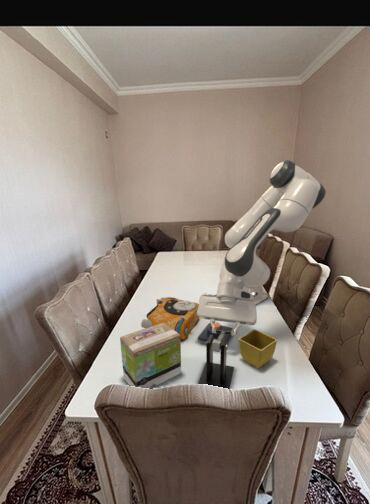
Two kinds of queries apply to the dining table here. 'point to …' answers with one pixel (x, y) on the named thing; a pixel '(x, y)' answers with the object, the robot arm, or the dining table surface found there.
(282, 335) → the dining table surface
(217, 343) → the lever
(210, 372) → the bracket
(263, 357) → the flower pot
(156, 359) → the tea box
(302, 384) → the dining table surface
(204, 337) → the button block
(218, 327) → the button
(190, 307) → the device
